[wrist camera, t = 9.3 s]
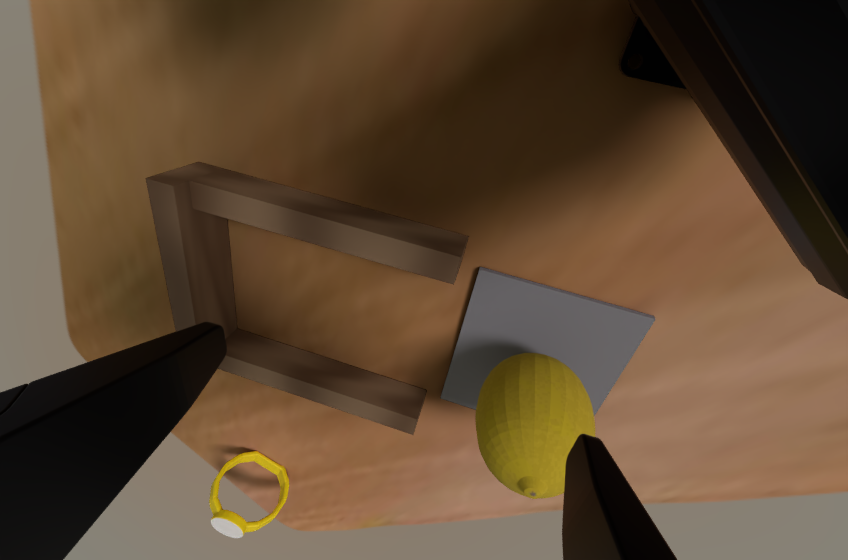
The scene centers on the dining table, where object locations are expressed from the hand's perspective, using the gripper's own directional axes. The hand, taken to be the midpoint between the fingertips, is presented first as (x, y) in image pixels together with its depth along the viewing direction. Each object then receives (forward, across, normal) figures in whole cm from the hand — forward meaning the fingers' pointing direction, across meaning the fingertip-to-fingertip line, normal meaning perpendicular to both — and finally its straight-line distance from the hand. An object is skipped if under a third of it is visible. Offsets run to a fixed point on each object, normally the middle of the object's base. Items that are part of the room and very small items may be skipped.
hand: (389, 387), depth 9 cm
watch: (+12, +13, +27) cm, 32 cm away
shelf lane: (+12, +7, +7) cm, 15 cm away
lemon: (+12, -6, +8) cm, 15 cm away
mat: (+12, -6, +8) cm, 15 cm away
